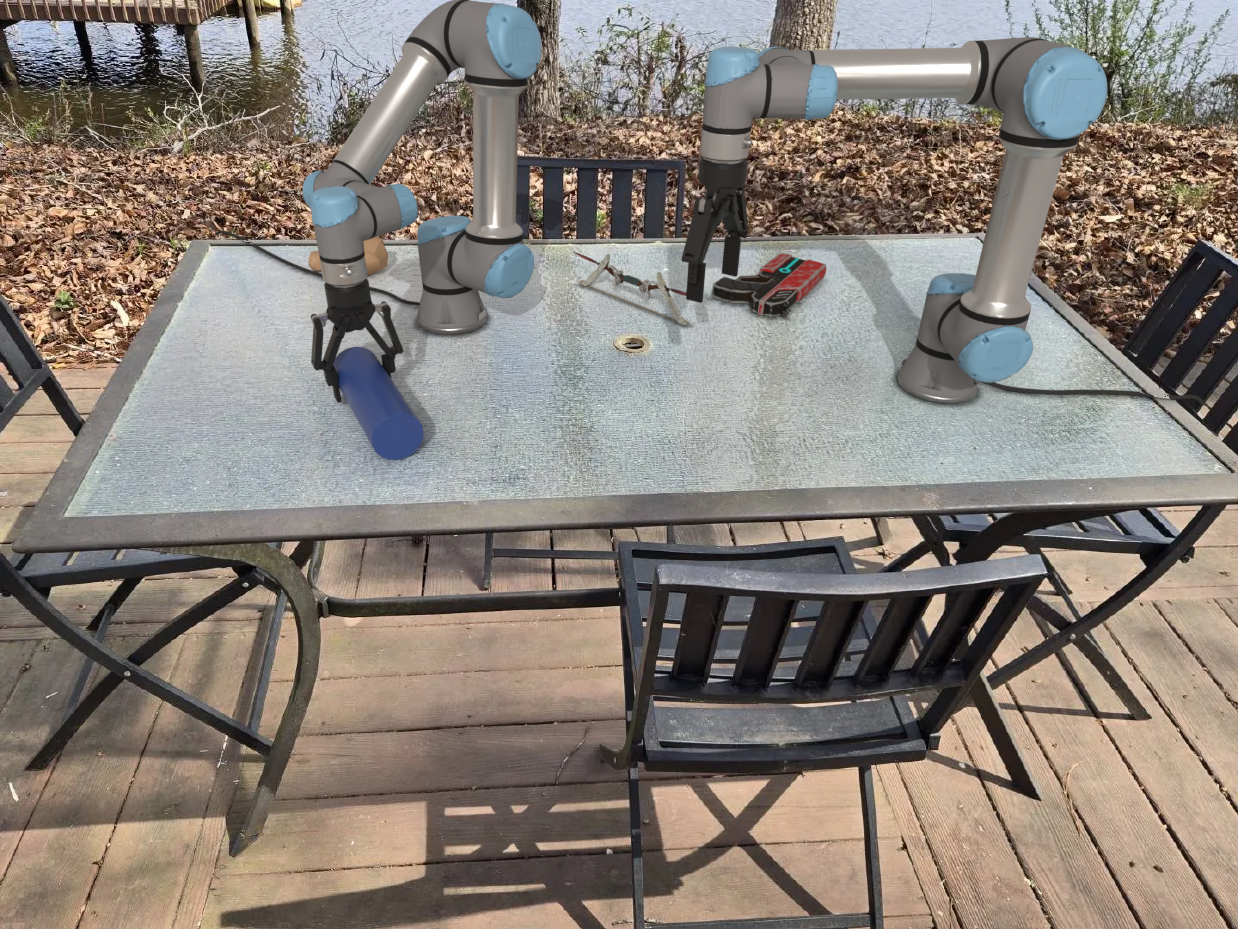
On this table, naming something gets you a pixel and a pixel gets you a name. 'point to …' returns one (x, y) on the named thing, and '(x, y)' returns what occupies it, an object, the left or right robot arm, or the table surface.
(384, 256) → the squash
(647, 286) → the bow
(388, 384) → the rod
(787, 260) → the gun
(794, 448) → the table surface
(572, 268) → the table surface
